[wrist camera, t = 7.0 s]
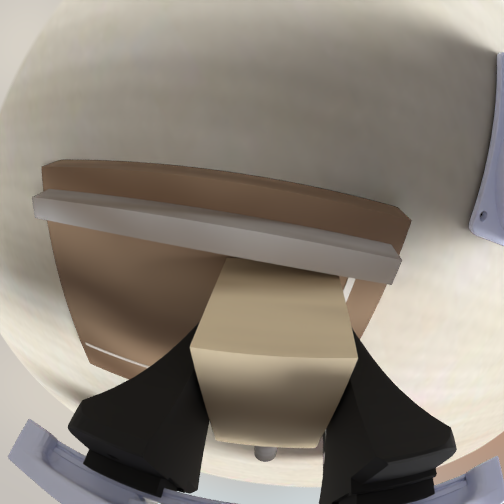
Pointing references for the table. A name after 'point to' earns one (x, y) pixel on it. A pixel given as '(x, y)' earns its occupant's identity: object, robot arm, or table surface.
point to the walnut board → (196, 247)
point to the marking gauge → (273, 355)
